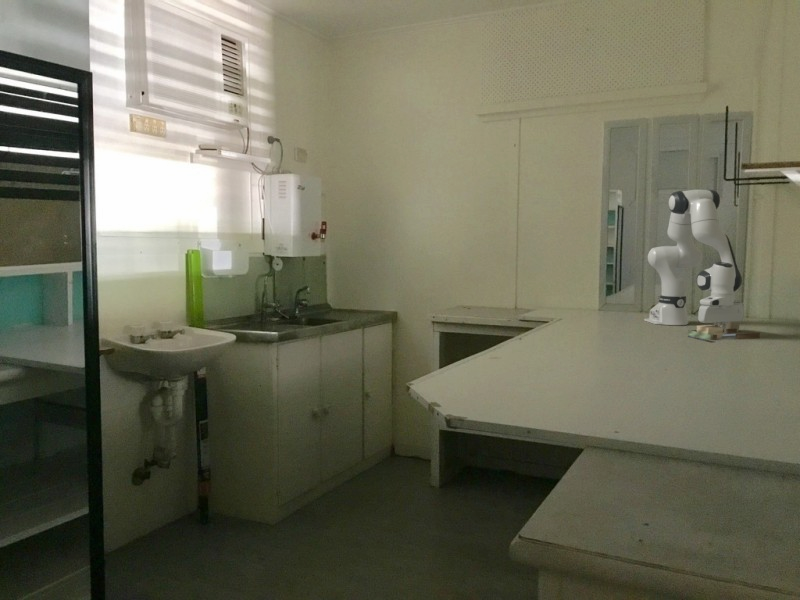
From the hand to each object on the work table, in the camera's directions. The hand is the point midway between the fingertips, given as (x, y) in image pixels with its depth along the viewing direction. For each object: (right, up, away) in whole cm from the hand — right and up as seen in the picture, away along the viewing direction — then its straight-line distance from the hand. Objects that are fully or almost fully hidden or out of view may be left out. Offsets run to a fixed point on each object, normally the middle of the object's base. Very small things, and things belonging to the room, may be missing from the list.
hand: (720, 332), depth 266 cm
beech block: (-6, -2, -1) cm, 6 cm away
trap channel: (+1, -3, +1) cm, 3 cm away
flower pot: (+12, -1, +14) cm, 18 cm away
